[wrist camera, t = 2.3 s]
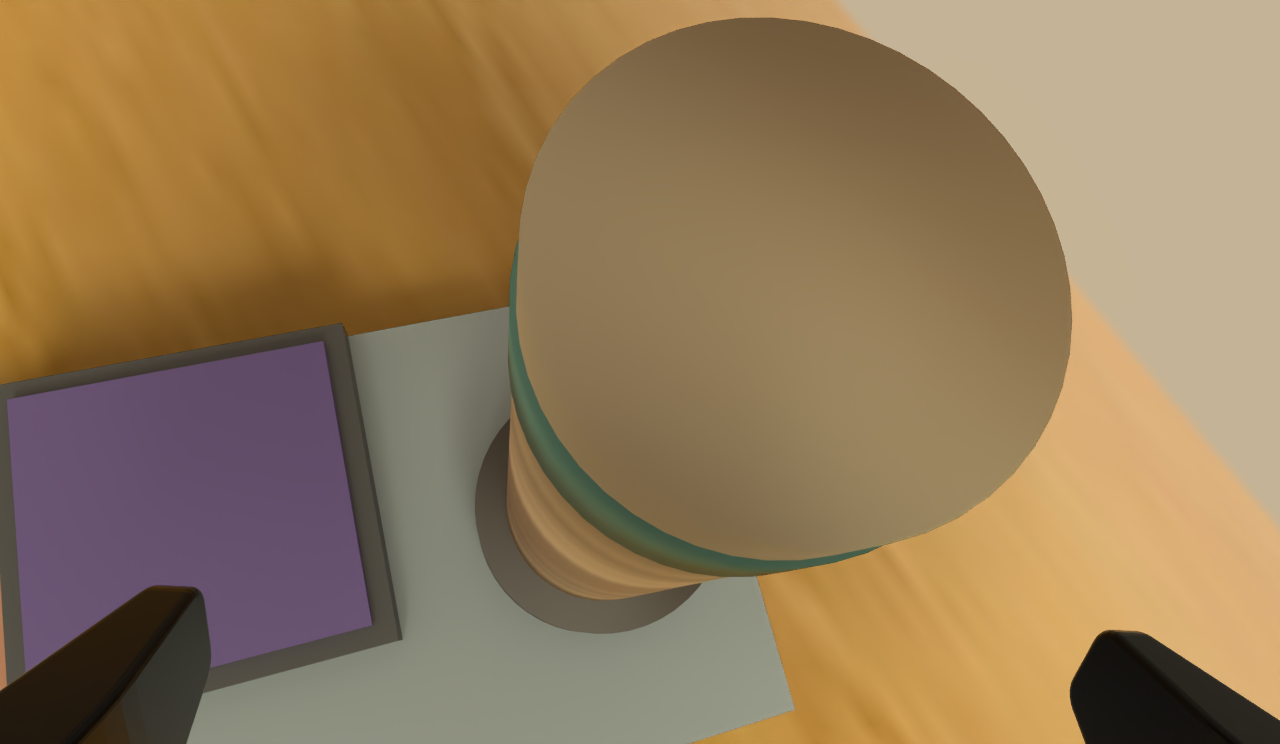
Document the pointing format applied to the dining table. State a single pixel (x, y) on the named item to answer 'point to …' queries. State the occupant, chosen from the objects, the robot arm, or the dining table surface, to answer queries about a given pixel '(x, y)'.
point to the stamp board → (338, 549)
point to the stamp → (762, 322)
